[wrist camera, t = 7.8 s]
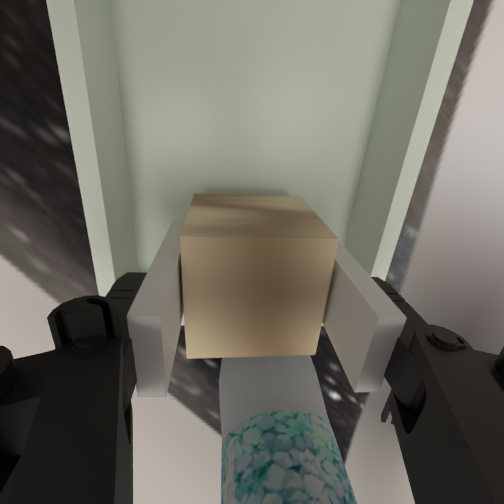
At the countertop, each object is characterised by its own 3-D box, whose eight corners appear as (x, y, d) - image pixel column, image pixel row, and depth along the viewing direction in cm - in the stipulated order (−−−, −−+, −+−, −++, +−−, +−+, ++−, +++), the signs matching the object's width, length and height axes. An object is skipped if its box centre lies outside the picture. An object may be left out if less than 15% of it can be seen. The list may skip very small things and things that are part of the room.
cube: (197, 286, 15) (186, 358, 11) (194, 193, 13) (179, 236, 9) (289, 286, 16) (315, 355, 11) (301, 196, 14) (339, 239, 9)
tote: (76, -148, 10) (-7, -295, 7) (433, -87, 12) (529, -178, 8) (129, 281, 18) (104, 325, 14) (342, 285, 19) (370, 326, 16)
